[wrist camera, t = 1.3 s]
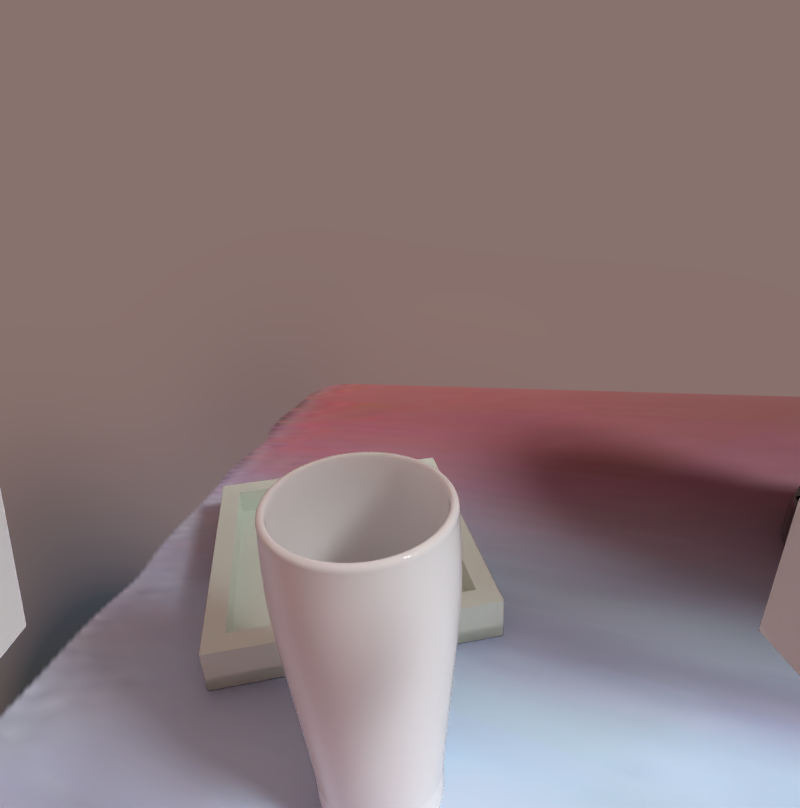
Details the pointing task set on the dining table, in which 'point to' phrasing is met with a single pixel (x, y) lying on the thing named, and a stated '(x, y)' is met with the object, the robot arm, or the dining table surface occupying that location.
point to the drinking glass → (366, 620)
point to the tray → (246, 606)
